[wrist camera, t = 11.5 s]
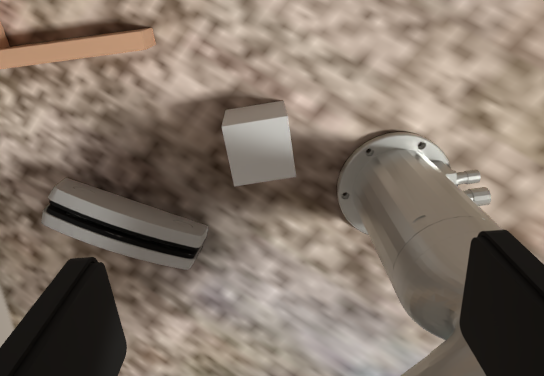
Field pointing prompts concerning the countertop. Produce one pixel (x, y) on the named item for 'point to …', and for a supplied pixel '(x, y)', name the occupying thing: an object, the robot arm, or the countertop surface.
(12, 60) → the bracket
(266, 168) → the light grey cube
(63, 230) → the grey game console
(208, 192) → the countertop surface
